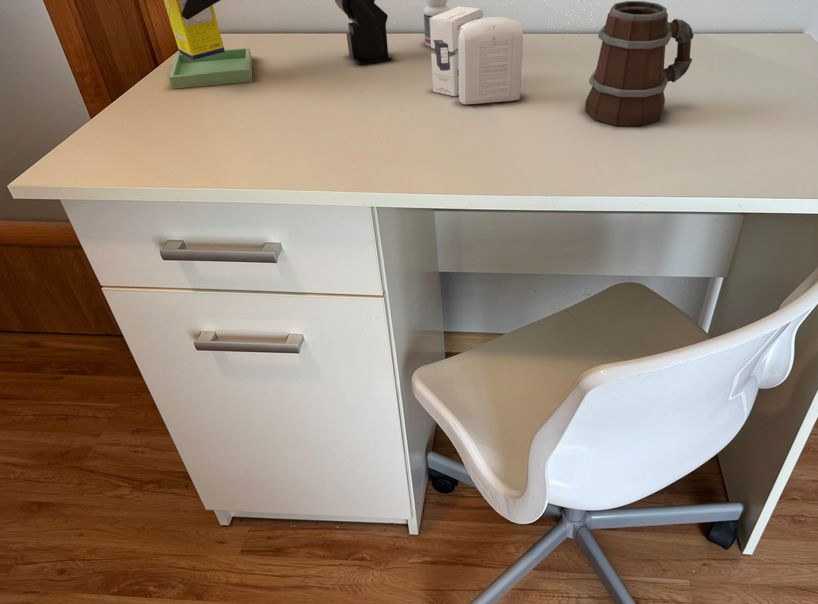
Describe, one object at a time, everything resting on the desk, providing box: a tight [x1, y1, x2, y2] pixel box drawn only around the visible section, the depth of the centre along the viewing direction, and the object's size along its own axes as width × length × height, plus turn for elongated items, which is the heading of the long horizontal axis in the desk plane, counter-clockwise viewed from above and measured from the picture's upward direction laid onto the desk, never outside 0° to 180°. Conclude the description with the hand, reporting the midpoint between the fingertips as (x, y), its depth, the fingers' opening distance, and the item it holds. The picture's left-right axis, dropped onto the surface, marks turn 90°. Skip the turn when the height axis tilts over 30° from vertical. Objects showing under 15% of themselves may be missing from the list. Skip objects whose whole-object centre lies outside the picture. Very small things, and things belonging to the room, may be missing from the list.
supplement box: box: [163, 0, 226, 60], centre depth 112 cm, size 6×6×11 cm
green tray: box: [168, 47, 253, 90], centre depth 121 cm, size 13×13×2 cm
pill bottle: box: [423, 0, 451, 48], centre depth 130 cm, size 5×5×9 cm
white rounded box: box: [458, 16, 524, 105], centre depth 105 cm, size 10×4×12 cm, turn 103°
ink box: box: [430, 5, 484, 97], centre depth 110 cm, size 8×5×12 cm, turn 146°
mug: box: [584, 0, 694, 127], centre depth 100 cm, size 16×12×15 cm
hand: (182, 12), depth 111 cm, fingers closed on supplement box, 7 cm apart
